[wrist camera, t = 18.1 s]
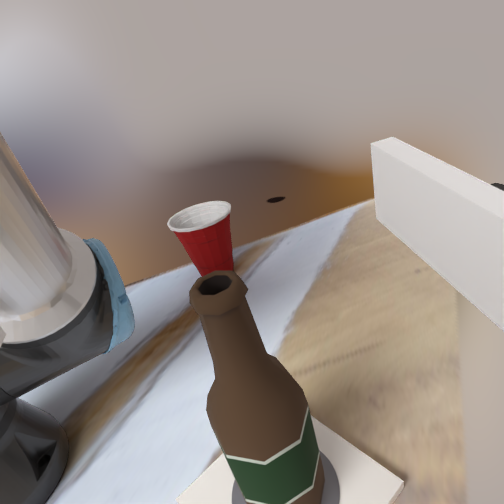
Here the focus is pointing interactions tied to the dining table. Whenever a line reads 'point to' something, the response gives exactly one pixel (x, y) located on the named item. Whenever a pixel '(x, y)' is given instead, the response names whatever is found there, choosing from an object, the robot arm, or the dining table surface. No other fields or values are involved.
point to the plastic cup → (205, 235)
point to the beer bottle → (255, 402)
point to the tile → (335, 471)
